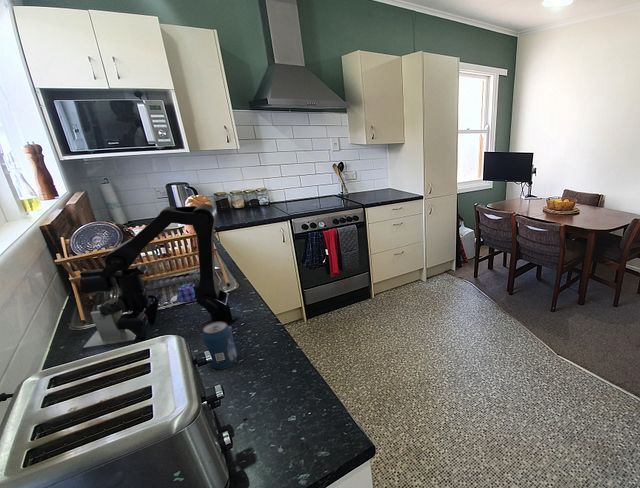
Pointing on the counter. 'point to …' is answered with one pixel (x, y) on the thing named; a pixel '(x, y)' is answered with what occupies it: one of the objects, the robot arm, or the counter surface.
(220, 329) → the soda can
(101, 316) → the switch bracket
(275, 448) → the counter surface
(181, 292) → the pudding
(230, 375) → the counter surface
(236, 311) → the counter surface
